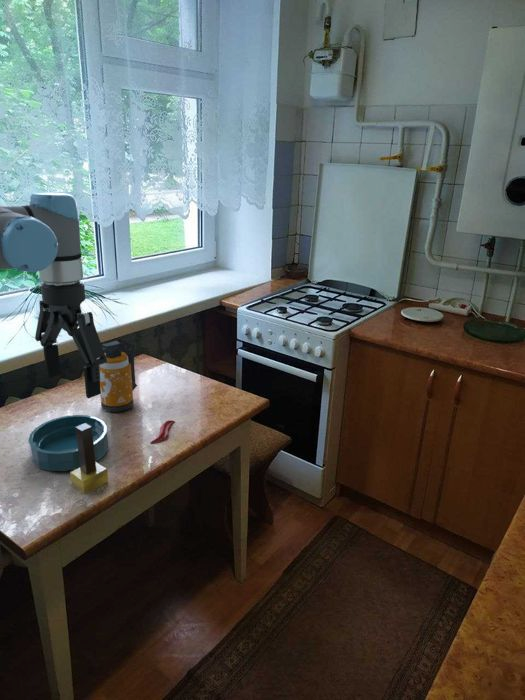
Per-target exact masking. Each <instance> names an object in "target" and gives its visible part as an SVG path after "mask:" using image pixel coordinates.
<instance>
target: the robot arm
mask: <svg viewBox="0 0 525 700" xmlns="http://www.w3.org/2000/svg"><path fill="white" fill-rule="evenodd" d="M29 201H30V202H29V204H25V205H21V206H19V205H17V206H15V205H14V206H13V205H12V206H0V270H10V269H15V270H17V271H20V272H27V273H37V272H38V275H39V280H40V281H42V282H41V283H40V292H41V299H42V300H39V303H38V304H39V315H38V319H37V325H36V331H35V335H34V339H35V341H36V342H39V343H40V346H41V347H42V349H43V356H44V365H45V373H46V378H47V379H51V378H55V377H57V376H60V375H62V373H61V372H62V371H61V362H60V355H59V346H58V344H57V343H58V342H59V341H58V340H57V339H58V337H59V335H60V333H61V331H62V330H63V331H65V332H66V333H67V335H68V336H69V337H71V338H72V340H73V342H74V344H75V345H76V347H77V349H78V351H79V353H80V355H81V357H82V359H83V361H84V363H85V364H84V365H83V366H82V367H83V376H84V377H83V378H84V389H85V397H86V398H87V399H91V398H94V397H97V396H100V394H101V390H100V369H99V365H101V364H104V363H107V359H106V356H105V353H104V350H103V348H102V342H101V339H100V337H99V336H100V335H99V334H98V331H97V328H96V325H95V321H94V315H93V312H92V311H85V312H83V311H82V308H81V304H82V303H83V302H85V300H86V290H85V289H86V288H85V282H84V281H83V278H84V268H83V258H82V246H81V244H82V243H81V230H80V228H81V227H80V221H81V220H80V216H79V208H78V204H77V200H76V198H75V197H74V196H73V195H72V194H71V193H70V194H69V193H66V192H33V193H32V194H31V195H30V200H29Z"/></svg>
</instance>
